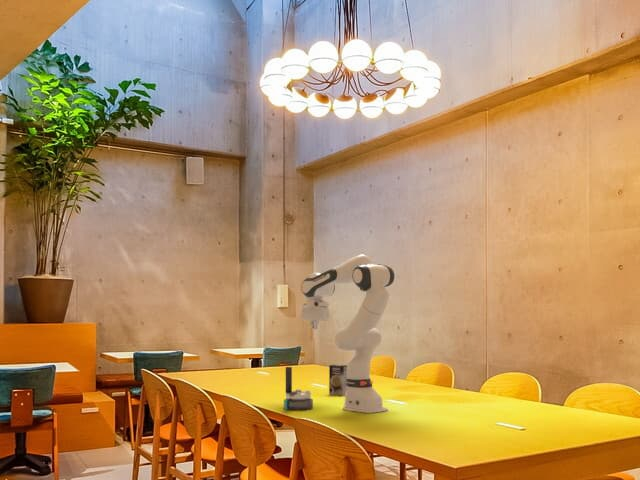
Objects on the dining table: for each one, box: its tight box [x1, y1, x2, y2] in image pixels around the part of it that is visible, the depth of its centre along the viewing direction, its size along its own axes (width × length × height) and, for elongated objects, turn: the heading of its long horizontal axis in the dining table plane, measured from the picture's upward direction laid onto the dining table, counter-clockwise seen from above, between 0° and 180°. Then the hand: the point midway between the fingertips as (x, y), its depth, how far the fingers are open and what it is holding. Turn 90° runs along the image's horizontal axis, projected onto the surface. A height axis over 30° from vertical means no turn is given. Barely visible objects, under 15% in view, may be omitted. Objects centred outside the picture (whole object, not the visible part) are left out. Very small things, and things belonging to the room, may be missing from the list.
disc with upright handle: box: [285, 366, 312, 401], centre depth 323 cm, size 14×12×16 cm
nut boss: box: [283, 398, 314, 411], centre depth 323 cm, size 14×15×5 cm
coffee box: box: [328, 364, 347, 397], centre depth 370 cm, size 9×6×16 cm
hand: (314, 329), depth 353 cm, fingers closed
